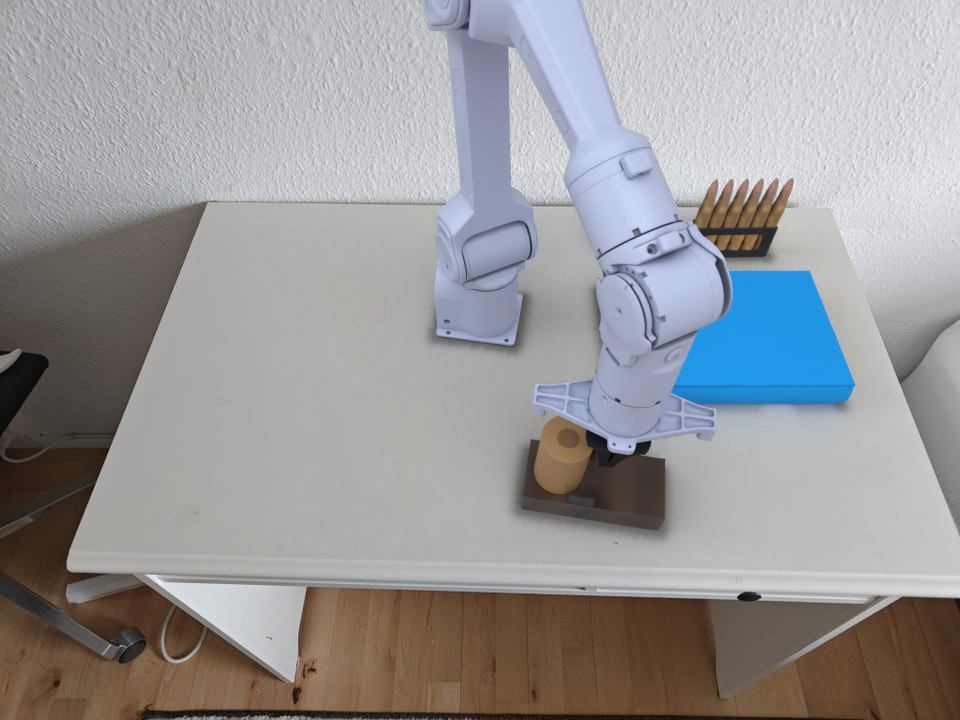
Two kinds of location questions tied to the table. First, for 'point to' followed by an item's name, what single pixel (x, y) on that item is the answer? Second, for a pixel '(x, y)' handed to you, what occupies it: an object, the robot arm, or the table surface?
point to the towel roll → (561, 456)
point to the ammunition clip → (742, 217)
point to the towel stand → (605, 492)
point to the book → (767, 347)
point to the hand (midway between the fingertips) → (606, 457)
